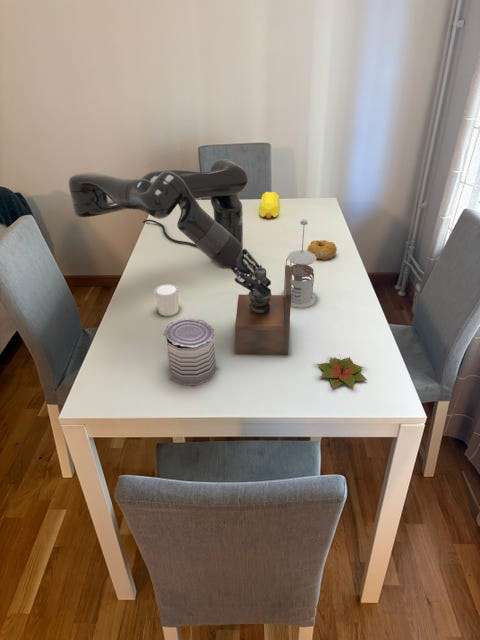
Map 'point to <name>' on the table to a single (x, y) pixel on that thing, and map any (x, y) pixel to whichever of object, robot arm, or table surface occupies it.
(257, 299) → the chess piece
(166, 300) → the white short cylinder
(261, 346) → the l-shaped wooden block
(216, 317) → the table surface
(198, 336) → the can
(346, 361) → the succulent plant
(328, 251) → the bagel
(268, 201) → the yellow lumpy bar
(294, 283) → the french press
